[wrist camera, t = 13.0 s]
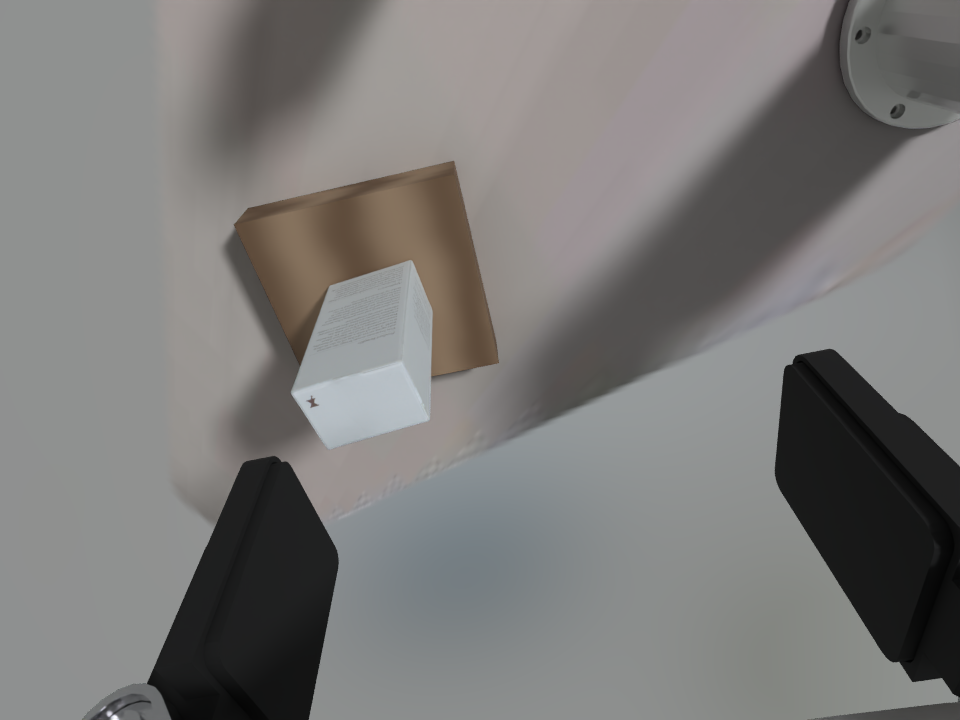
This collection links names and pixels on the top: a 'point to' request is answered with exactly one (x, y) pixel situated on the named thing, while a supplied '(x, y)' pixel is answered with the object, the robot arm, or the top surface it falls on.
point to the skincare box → (368, 358)
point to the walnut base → (376, 256)
